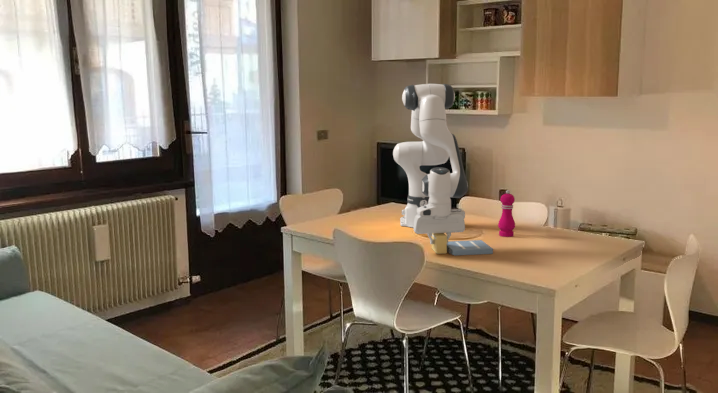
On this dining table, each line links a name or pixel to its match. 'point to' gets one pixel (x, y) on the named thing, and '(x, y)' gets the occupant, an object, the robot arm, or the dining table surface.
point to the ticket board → (468, 247)
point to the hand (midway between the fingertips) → (439, 243)
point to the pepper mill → (506, 215)
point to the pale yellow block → (439, 243)
